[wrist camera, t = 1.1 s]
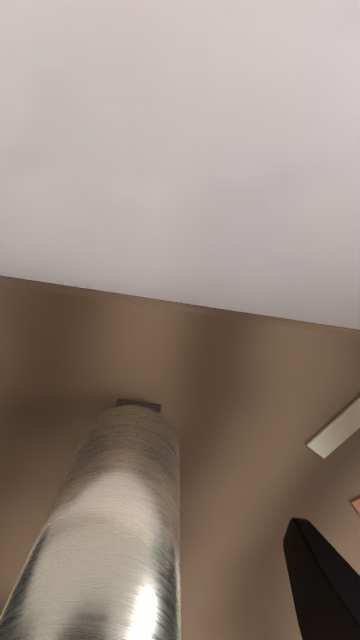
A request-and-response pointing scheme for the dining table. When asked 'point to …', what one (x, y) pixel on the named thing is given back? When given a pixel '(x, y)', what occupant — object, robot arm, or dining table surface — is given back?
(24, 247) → the dining table surface
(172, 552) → the lever
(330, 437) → the board
